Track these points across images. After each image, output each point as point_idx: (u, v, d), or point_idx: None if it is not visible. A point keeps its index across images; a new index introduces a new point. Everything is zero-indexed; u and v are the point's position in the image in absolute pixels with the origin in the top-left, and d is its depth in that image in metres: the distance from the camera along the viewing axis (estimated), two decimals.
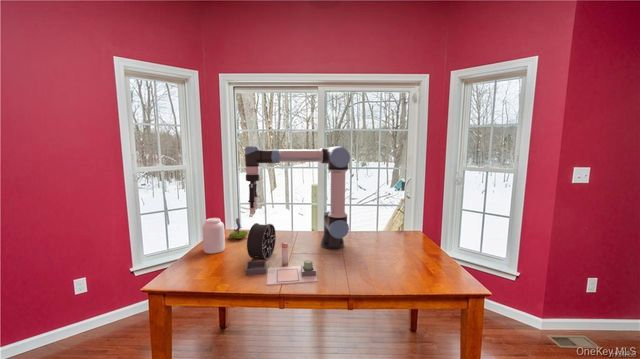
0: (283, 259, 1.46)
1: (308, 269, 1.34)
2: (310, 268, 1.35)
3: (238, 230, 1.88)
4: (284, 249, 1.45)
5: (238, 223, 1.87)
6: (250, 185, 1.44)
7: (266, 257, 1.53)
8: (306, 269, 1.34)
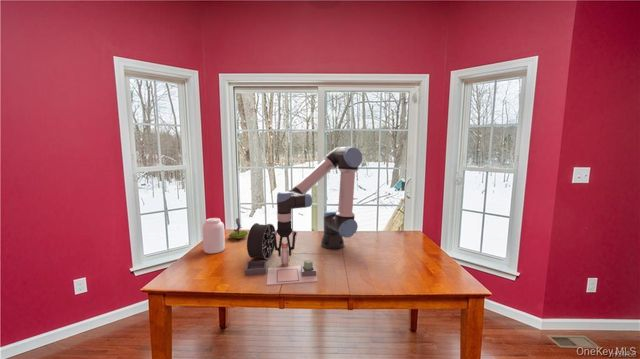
0: (283, 259, 1.46)
1: (308, 269, 1.34)
2: (310, 268, 1.35)
3: (238, 230, 1.88)
4: (284, 249, 1.45)
5: (238, 223, 1.87)
6: None
7: (266, 257, 1.53)
8: (306, 269, 1.34)
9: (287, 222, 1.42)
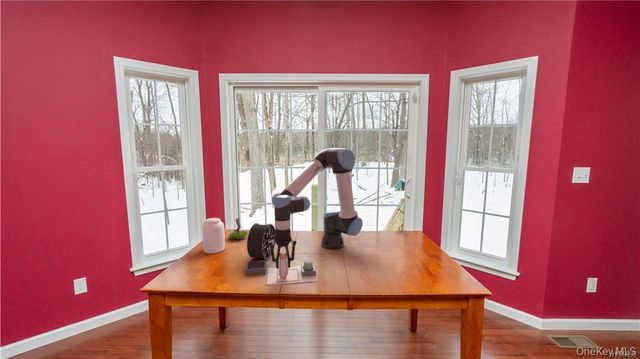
0: (281, 271, 1.30)
1: (308, 269, 1.34)
2: (310, 268, 1.35)
3: (238, 230, 1.87)
4: (282, 260, 1.29)
5: (238, 223, 1.87)
6: None
7: (266, 257, 1.53)
8: (306, 269, 1.34)
9: (286, 230, 1.26)
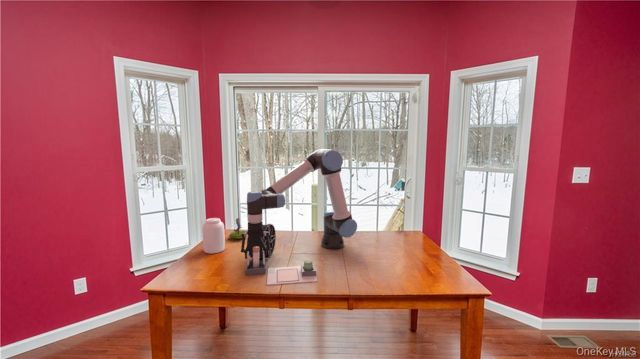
0: (254, 264, 1.39)
1: (308, 269, 1.34)
2: (310, 268, 1.35)
3: (238, 230, 1.87)
4: (255, 253, 1.38)
5: (238, 223, 1.87)
6: None
7: None
8: (306, 269, 1.34)
9: (257, 223, 1.35)
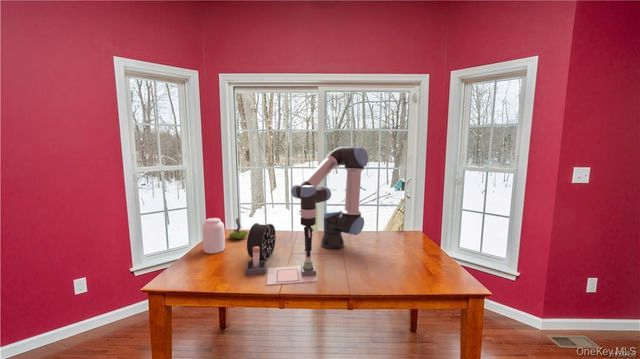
0: (254, 264, 1.39)
1: (308, 269, 1.34)
2: (310, 268, 1.35)
3: (238, 230, 1.88)
4: (255, 254, 1.38)
5: (238, 223, 1.87)
6: (308, 236, 1.28)
7: (266, 257, 1.53)
8: (306, 269, 1.34)
9: None
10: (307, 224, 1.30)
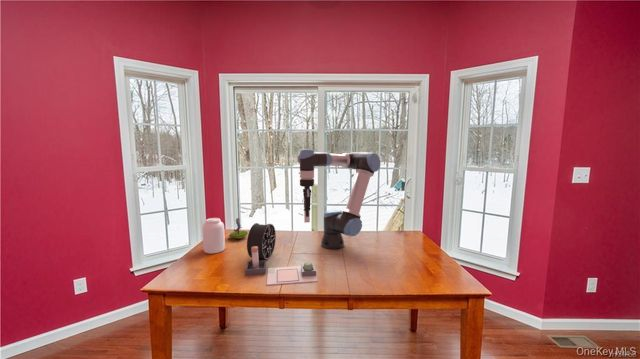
0: (253, 264, 1.39)
1: None
2: None
3: (238, 230, 1.87)
4: (254, 253, 1.38)
5: (238, 223, 1.87)
6: (307, 195, 1.36)
7: (266, 257, 1.53)
8: None
9: None
10: (306, 185, 1.37)
